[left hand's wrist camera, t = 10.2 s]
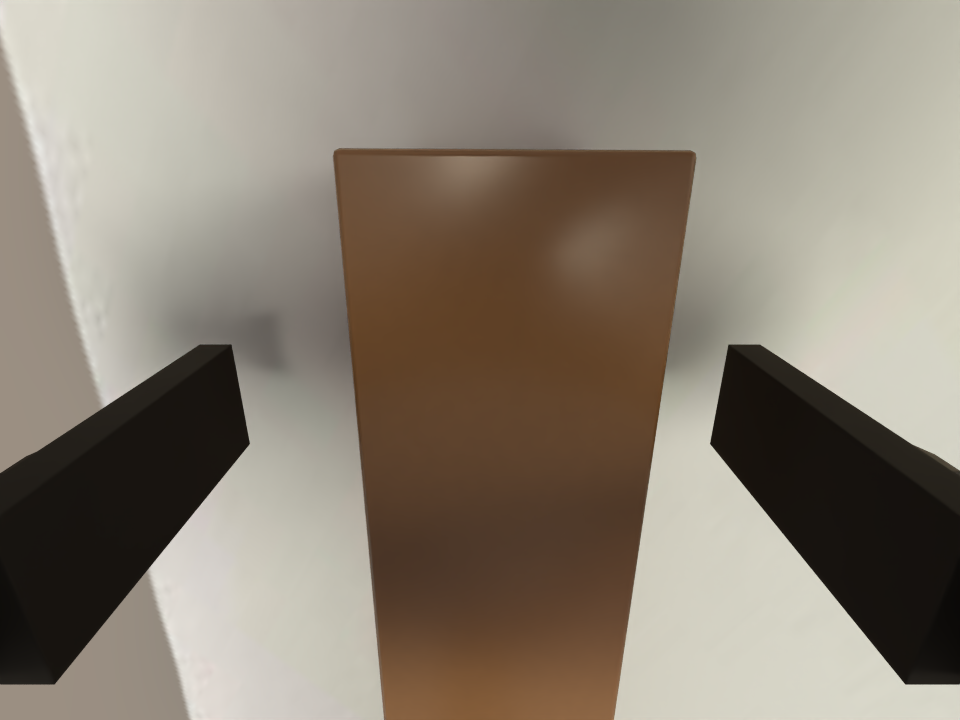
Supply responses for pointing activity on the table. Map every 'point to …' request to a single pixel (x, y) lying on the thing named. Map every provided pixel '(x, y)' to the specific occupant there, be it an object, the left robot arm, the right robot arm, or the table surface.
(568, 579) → the post
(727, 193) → the table surface
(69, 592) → the left robot arm
